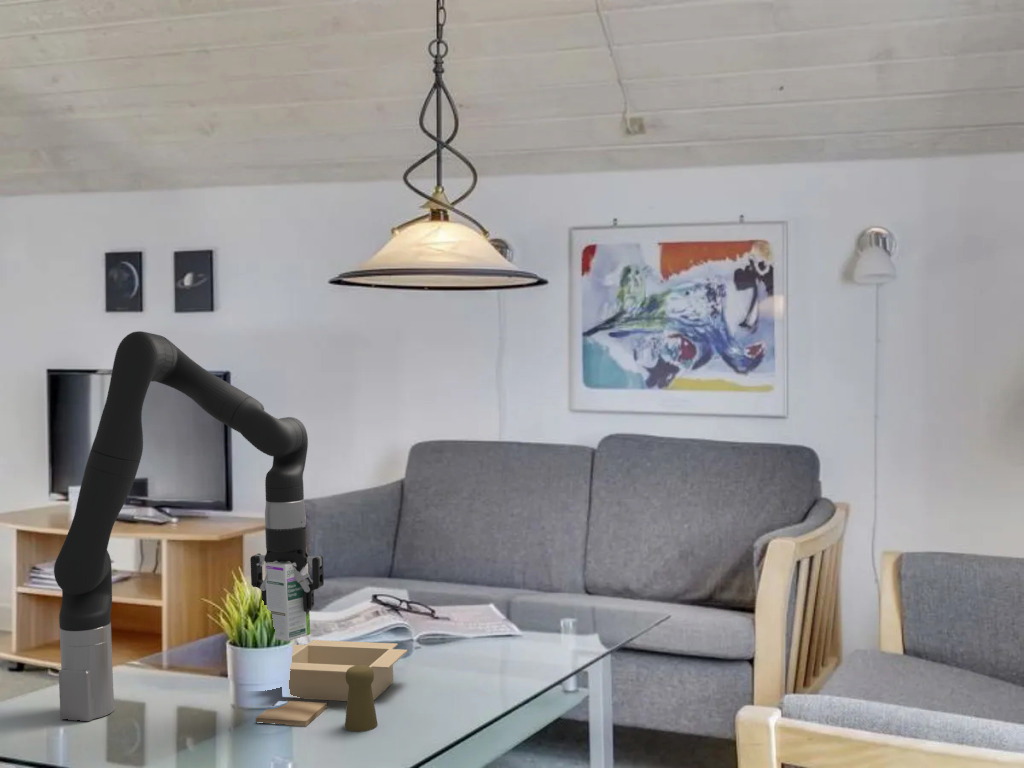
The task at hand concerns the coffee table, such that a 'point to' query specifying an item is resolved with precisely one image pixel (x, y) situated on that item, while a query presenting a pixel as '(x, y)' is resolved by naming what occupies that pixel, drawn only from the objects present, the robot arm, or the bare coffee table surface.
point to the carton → (339, 667)
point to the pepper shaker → (360, 699)
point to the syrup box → (286, 601)
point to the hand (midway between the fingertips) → (288, 610)
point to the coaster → (293, 713)
